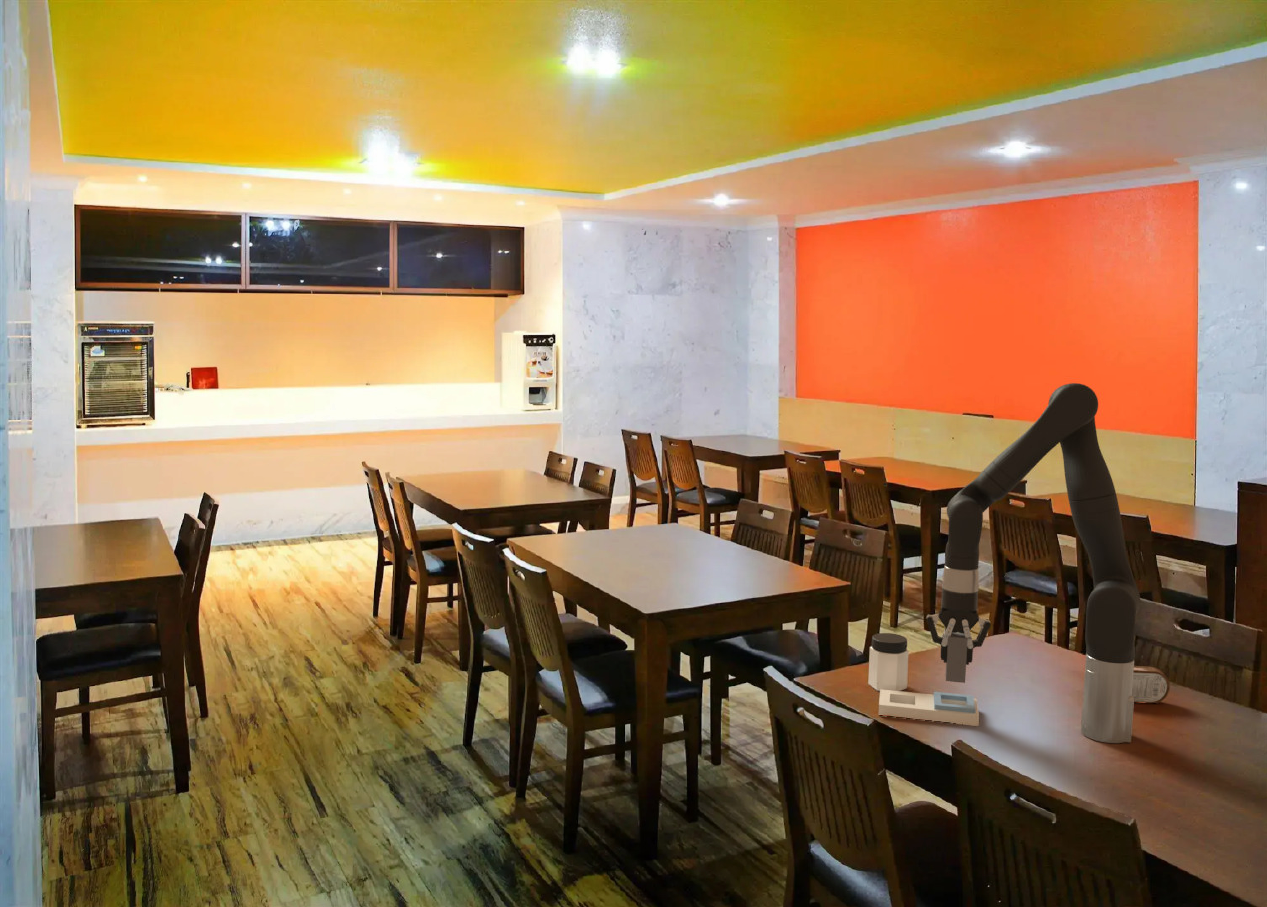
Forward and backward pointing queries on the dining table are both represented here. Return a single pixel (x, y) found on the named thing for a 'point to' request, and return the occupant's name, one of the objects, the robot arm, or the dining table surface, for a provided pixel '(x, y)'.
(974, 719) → the socket block
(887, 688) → the jar
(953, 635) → the plug
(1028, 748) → the dining table surface
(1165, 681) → the tin
